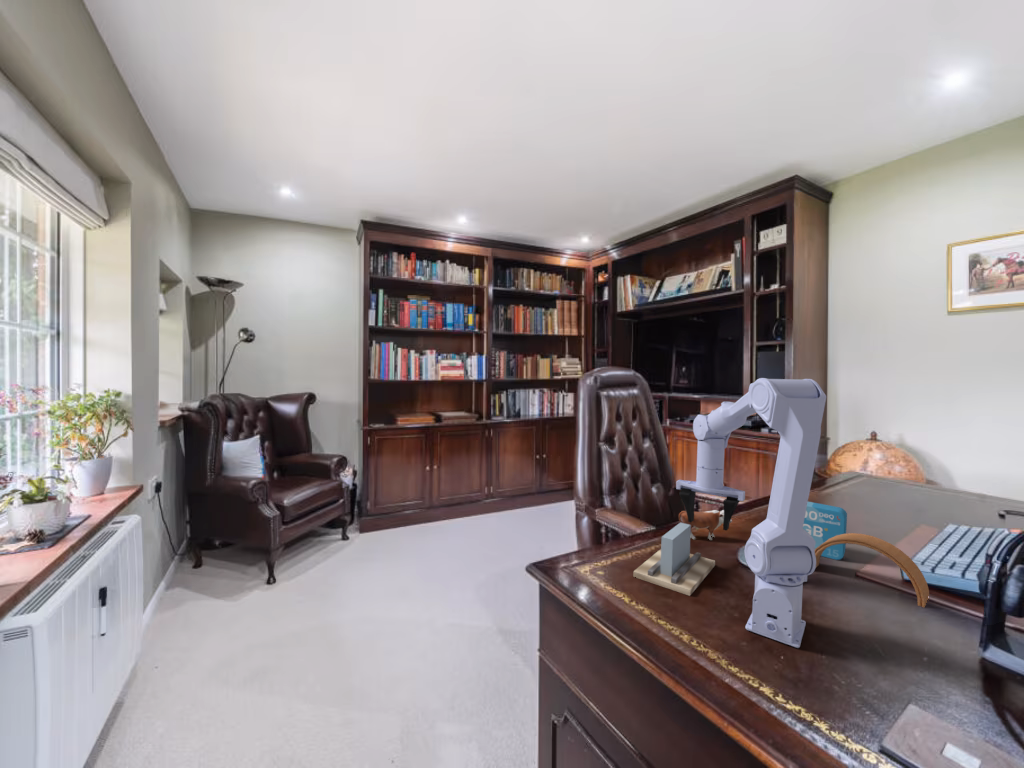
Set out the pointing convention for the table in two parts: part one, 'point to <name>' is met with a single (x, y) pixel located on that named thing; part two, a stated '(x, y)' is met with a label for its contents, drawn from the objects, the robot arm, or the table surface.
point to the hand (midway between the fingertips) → (708, 524)
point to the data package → (826, 527)
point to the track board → (682, 579)
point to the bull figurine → (704, 521)
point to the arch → (889, 552)
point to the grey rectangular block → (675, 549)
